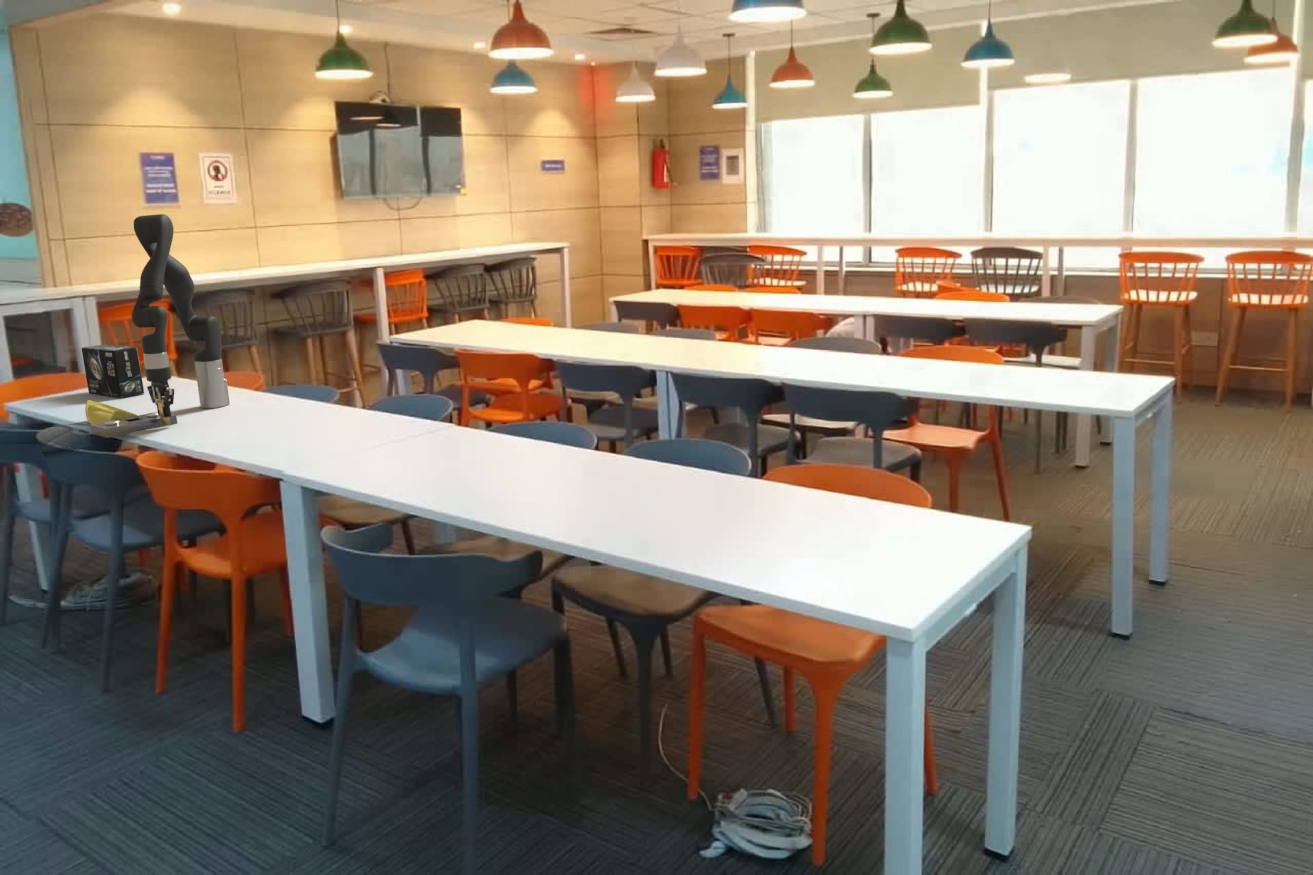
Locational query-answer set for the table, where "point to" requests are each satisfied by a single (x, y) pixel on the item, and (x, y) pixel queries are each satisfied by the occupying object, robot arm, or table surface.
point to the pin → (163, 420)
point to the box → (113, 370)
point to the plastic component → (104, 412)
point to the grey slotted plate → (129, 425)
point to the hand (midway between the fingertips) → (164, 416)
